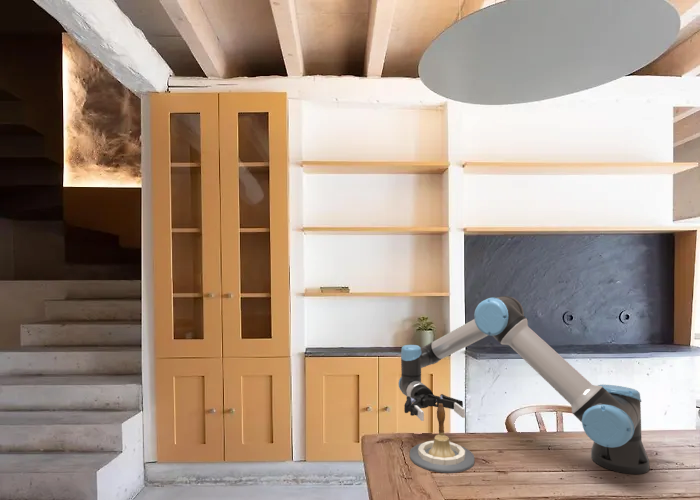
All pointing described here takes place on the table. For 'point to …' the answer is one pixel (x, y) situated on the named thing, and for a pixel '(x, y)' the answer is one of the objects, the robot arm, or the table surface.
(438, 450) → the hand bell
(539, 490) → the table surface
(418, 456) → the ring tray
